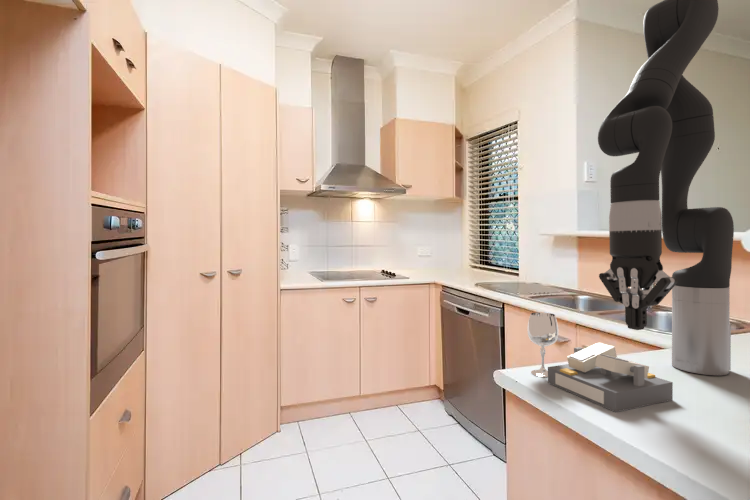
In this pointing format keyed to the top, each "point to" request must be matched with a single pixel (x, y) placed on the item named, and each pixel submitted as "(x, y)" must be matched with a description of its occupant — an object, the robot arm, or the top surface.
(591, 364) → the block
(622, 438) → the top surface
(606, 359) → the rocker far
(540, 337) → the wineglass
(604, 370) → the switch unit
